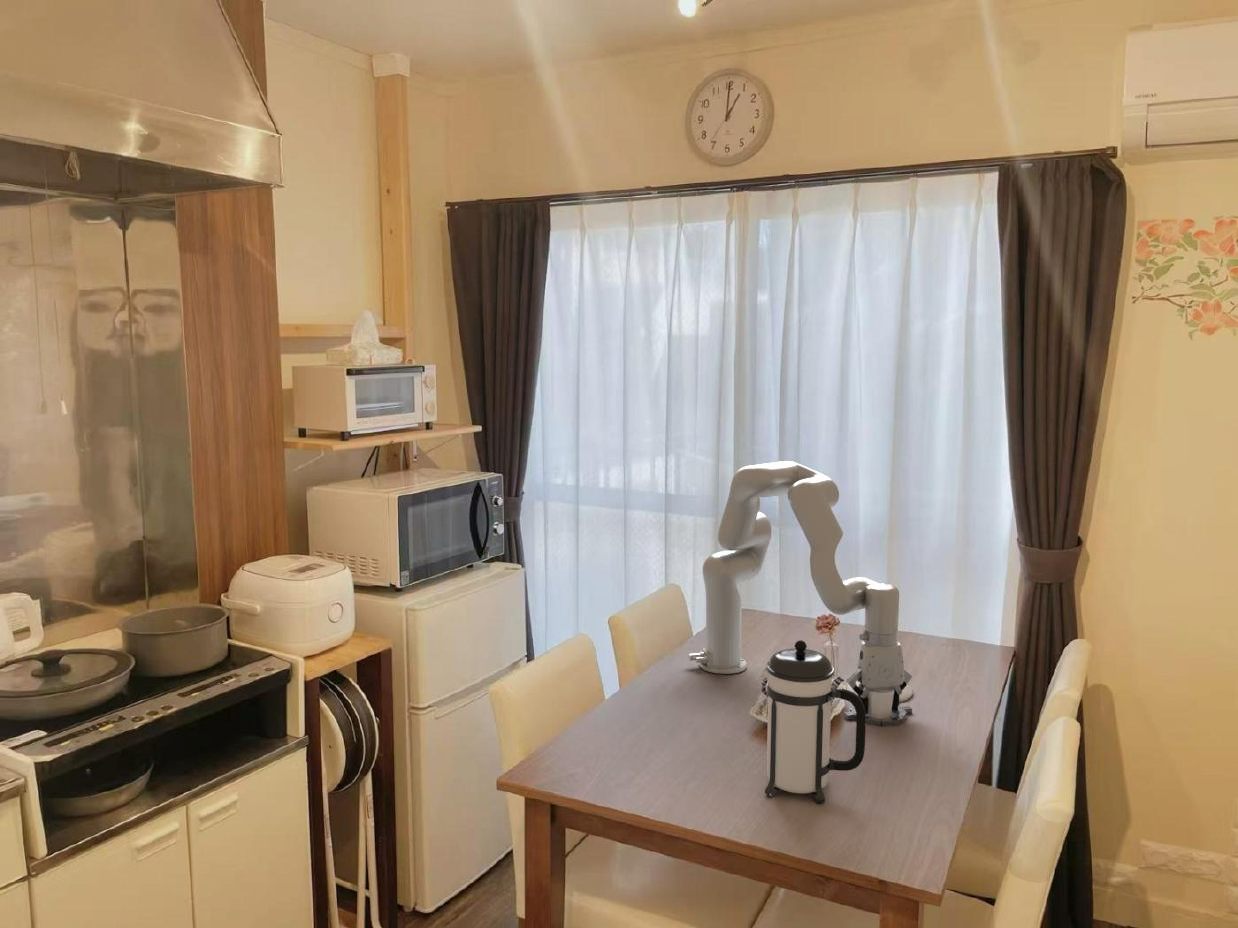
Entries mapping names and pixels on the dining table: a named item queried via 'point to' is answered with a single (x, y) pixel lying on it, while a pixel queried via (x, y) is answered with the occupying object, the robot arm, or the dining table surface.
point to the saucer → (903, 696)
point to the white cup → (880, 702)
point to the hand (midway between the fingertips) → (878, 710)
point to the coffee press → (804, 722)
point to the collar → (896, 720)
